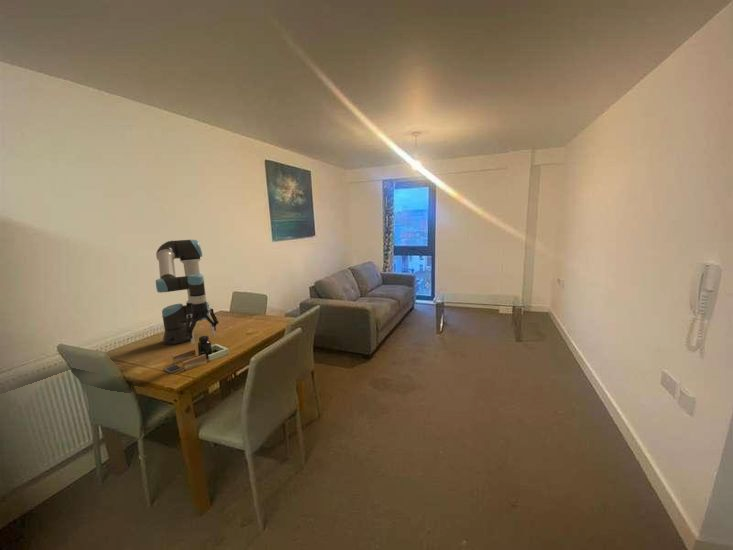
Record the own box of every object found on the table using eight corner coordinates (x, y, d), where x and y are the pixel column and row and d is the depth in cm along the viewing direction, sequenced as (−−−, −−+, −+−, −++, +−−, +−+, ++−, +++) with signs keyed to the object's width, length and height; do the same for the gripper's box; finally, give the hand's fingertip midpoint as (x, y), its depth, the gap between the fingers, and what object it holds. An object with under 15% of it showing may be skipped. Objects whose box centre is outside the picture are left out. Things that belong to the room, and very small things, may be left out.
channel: (173, 363, 166) (172, 356, 165) (194, 356, 175) (193, 348, 174) (185, 370, 158) (184, 362, 157) (206, 362, 167) (205, 354, 166)
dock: (198, 355, 176) (197, 350, 176) (217, 348, 185) (216, 343, 184) (210, 360, 168) (209, 355, 168) (229, 353, 177) (228, 348, 176)
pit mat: (163, 369, 160) (163, 368, 159) (176, 365, 164) (175, 364, 164) (170, 374, 155) (170, 372, 155) (182, 369, 160) (182, 368, 160)
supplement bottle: (200, 361, 168) (197, 340, 166) (198, 356, 174) (195, 336, 172) (213, 357, 172) (211, 337, 170) (211, 353, 178) (209, 334, 176)
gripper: (179, 309, 156) (185, 349, 160) (222, 298, 174) (226, 334, 178) (172, 306, 160) (178, 345, 165) (215, 296, 178) (219, 332, 183)
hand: (203, 340), depth 172 cm, fingers open, 10 cm apart
